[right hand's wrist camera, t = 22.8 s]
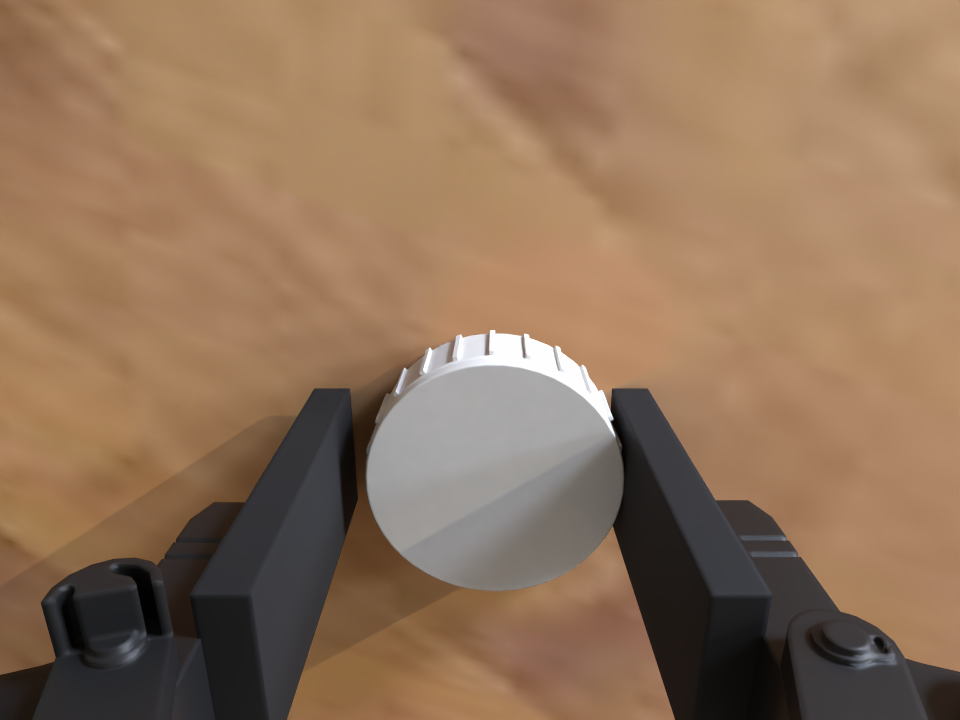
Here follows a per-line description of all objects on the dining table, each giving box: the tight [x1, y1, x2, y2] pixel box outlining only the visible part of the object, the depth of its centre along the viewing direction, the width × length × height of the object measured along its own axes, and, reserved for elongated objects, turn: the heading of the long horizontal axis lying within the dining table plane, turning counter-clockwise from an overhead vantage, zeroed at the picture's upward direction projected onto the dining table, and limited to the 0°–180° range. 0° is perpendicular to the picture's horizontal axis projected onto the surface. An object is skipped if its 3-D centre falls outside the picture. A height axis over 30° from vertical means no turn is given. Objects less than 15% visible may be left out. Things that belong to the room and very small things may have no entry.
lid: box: [365, 330, 625, 591], centre depth 14 cm, size 5×5×2 cm
